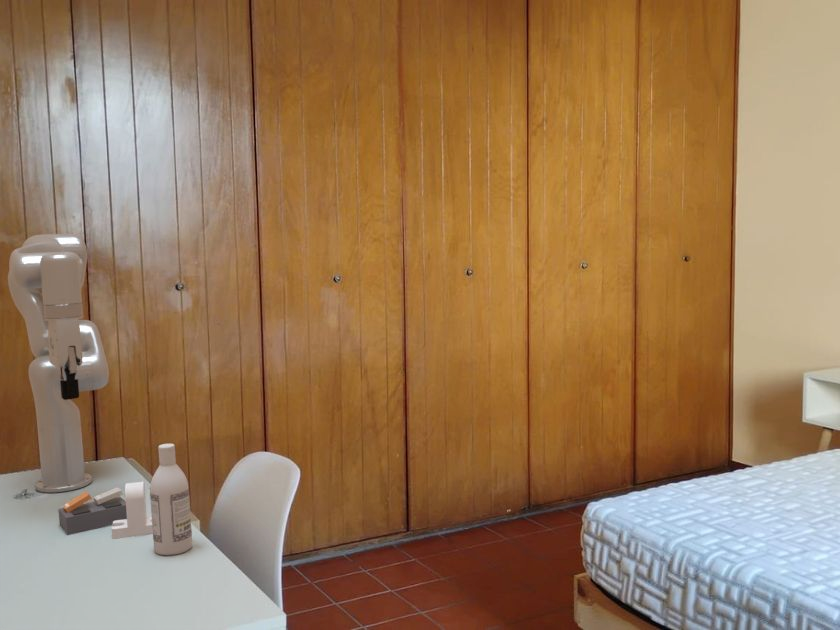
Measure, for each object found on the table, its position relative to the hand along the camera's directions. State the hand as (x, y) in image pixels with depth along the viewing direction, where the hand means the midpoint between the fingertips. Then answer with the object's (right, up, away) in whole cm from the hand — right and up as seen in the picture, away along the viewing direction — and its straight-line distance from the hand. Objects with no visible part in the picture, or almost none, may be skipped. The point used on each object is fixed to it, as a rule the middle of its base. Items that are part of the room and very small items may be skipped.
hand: (70, 398), depth 178 cm
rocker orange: (+4, -21, -6) cm, 22 cm away
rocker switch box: (+6, -25, -3) cm, 26 cm away
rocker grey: (+9, -20, -2) cm, 22 cm away
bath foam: (+28, -27, -20) cm, 43 cm away
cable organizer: (+18, -26, -10) cm, 33 cm away
